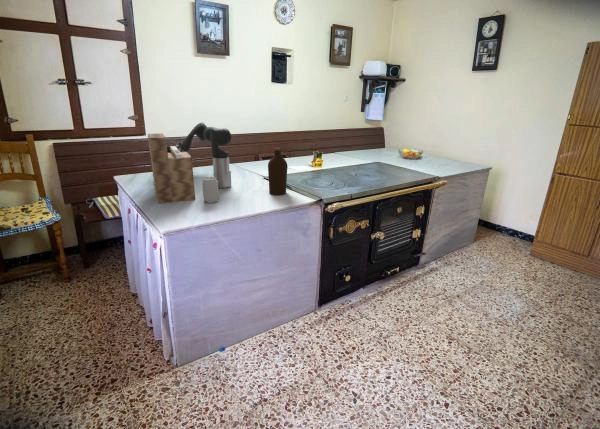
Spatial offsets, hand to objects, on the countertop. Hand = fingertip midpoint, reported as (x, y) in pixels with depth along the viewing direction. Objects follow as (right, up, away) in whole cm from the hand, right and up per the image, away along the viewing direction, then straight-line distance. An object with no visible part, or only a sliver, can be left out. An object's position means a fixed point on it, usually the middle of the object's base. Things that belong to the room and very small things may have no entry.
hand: (171, 144), depth 186 cm
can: (+25, -32, -11) cm, 41 cm away
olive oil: (+58, -26, +5) cm, 63 cm away
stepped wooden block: (+4, -29, -6) cm, 30 cm away
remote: (+6, -7, -9) cm, 13 cm away
